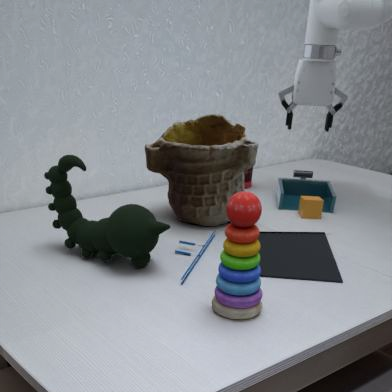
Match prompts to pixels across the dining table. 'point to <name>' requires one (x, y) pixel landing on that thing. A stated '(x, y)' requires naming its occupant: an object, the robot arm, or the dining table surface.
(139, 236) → the toy figurine
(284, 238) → the mat
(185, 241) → the chopsticks
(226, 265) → the stacking toy
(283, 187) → the dish
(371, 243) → the dining table surface
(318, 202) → the block
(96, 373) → the dining table surface
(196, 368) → the dining table surface
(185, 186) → the ceramic vessel
